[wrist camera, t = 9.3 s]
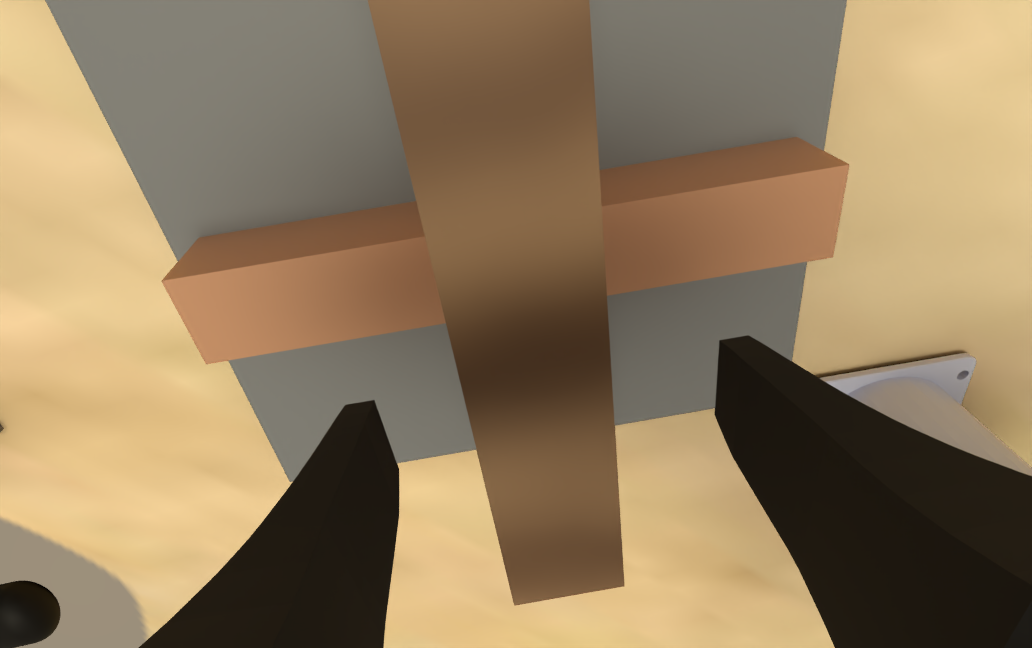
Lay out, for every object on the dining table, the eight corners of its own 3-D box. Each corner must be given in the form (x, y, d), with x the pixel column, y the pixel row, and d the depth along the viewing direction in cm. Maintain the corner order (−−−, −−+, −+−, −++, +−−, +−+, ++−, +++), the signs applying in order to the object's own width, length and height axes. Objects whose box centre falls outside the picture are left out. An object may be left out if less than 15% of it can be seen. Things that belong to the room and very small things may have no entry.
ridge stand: (775, 381, 27) (823, 444, 23) (294, 464, 26) (272, 540, 23) (854, -199, 16) (966, -240, 12) (35, -66, 15) (-79, -70, 12)
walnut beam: (591, 467, 23) (624, 586, 18) (501, 483, 23) (514, 605, 18) (536, -106, 13) (581, -133, 9) (377, -80, 13) (344, -94, 9)
